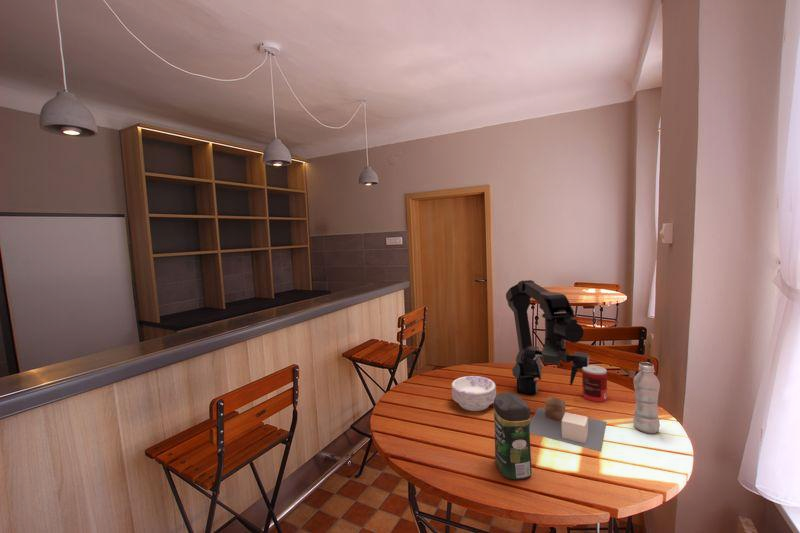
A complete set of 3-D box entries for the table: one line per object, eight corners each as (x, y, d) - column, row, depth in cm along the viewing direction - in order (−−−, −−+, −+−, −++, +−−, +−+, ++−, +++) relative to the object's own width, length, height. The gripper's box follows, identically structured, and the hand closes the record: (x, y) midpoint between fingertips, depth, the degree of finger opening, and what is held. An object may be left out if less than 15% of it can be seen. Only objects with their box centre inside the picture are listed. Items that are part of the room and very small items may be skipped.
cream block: (561, 437, 102) (561, 420, 102) (565, 428, 107) (565, 412, 106) (585, 443, 98) (585, 426, 98) (587, 433, 103) (587, 416, 103)
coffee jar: (491, 458, 95) (489, 390, 93) (520, 456, 95) (518, 388, 94) (504, 483, 85) (502, 407, 84) (536, 480, 85) (535, 405, 84)
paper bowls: (447, 412, 121) (446, 389, 121) (457, 394, 135) (457, 373, 135) (493, 418, 116) (492, 395, 115) (498, 399, 130) (498, 377, 129)
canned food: (600, 394, 130) (600, 364, 129) (611, 404, 122) (611, 372, 121) (578, 394, 131) (578, 365, 130) (588, 404, 123) (587, 373, 122)
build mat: (524, 433, 106) (524, 431, 106) (538, 408, 121) (538, 407, 121) (601, 453, 95) (601, 451, 95) (606, 423, 109) (606, 421, 109)
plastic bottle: (655, 426, 107) (655, 361, 105) (663, 438, 100) (664, 369, 99) (630, 423, 109) (630, 359, 108) (636, 435, 102) (637, 367, 101)
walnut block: (545, 417, 113) (545, 402, 113) (548, 411, 117) (548, 396, 117) (562, 421, 111) (562, 406, 110) (565, 415, 115) (565, 399, 114)
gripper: (517, 336, 111) (518, 385, 112) (584, 344, 100) (585, 398, 101) (526, 328, 120) (527, 374, 121) (589, 334, 110) (589, 384, 111)
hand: (555, 382), depth 113 cm, fingers open, 9 cm apart
